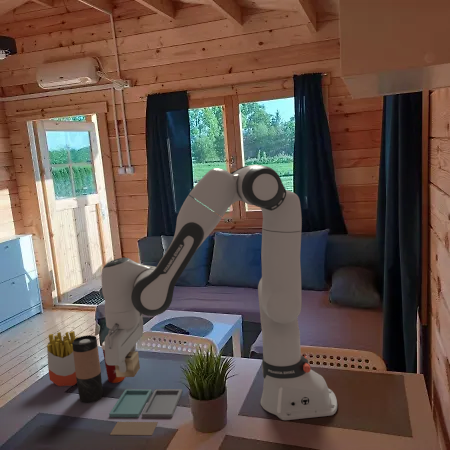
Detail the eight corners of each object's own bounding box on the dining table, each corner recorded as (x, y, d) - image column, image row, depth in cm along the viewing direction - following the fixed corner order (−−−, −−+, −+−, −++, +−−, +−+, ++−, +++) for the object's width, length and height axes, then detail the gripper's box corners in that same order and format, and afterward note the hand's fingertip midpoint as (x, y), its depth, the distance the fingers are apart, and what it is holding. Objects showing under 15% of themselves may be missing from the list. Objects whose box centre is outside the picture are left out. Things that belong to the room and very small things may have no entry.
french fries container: (81, 385, 152) (74, 335, 150) (50, 387, 153) (43, 337, 150) (85, 379, 157) (79, 330, 154) (55, 380, 157) (49, 332, 155)
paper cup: (122, 386, 150) (117, 347, 148) (101, 385, 152) (96, 346, 150) (131, 374, 158) (127, 337, 156) (111, 374, 159) (107, 337, 157)
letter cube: (139, 368, 125) (138, 351, 124) (134, 377, 120) (132, 359, 119) (123, 368, 126) (121, 351, 125) (116, 377, 121) (114, 359, 120)
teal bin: (152, 393, 144) (152, 389, 144) (138, 418, 130) (138, 414, 130) (125, 393, 145) (125, 389, 145) (109, 418, 131) (109, 413, 131)
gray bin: (182, 393, 142) (182, 389, 142) (172, 419, 129) (171, 414, 129) (155, 393, 144) (155, 389, 143) (142, 418, 130) (141, 414, 130)
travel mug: (108, 396, 144) (101, 338, 141) (88, 407, 138) (80, 346, 135) (94, 389, 149) (87, 333, 146) (74, 400, 143) (66, 341, 140)
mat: (158, 424, 127) (157, 422, 127) (152, 437, 121) (151, 435, 121) (117, 423, 128) (117, 421, 128) (110, 436, 123) (109, 434, 122)
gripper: (119, 332, 110) (125, 384, 112) (145, 305, 130) (149, 349, 132) (95, 333, 111) (101, 384, 113) (124, 305, 131) (129, 349, 133)
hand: (127, 365), depth 123 cm, fingers closed on letter cube, 5 cm apart
